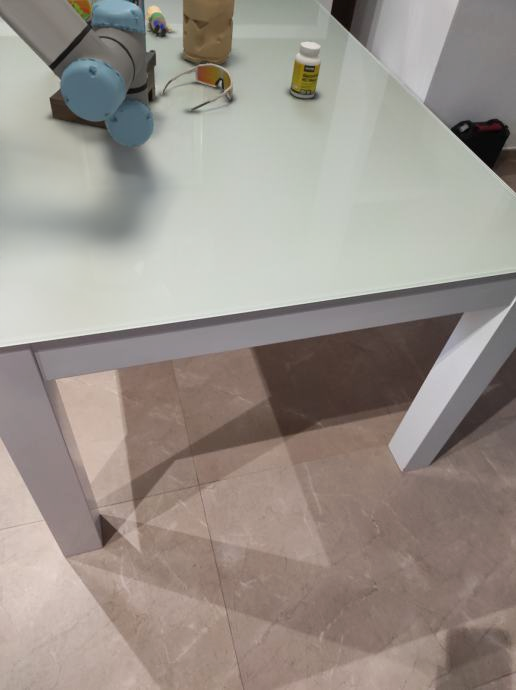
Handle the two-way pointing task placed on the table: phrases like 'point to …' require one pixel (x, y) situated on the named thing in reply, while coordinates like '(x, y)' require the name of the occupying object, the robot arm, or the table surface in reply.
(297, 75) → the pill bottle
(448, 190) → the table surface
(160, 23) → the toy figurine
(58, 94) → the shelf
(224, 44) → the container
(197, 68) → the sunglasses
